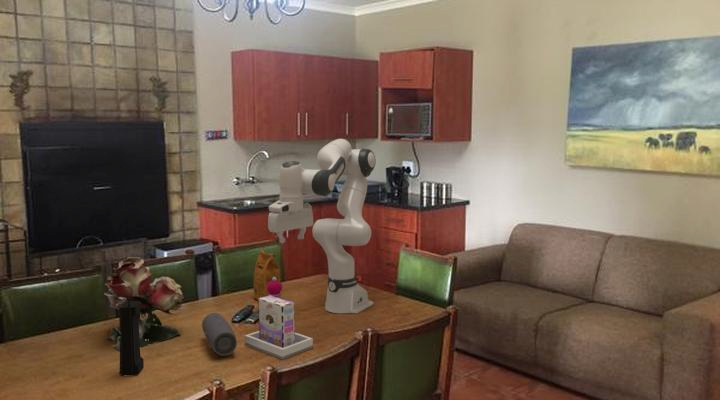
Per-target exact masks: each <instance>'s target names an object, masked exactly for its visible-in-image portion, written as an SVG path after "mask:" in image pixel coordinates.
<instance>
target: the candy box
mask: <svg viewBox="0 0 720 400" xmlns="http://www.w3.org/2000/svg"><path fill="white" fill-rule="evenodd" d="M257 302H258V328H259V329H258V331H259V339H260V340H263V341H266V342H268V343H271V344H274V345H276V346H279V347H282V348H284V347H287V346H289V345H292V344H295V333H296V332H295V330H296V329H295V302H293V301H288V300H286V299H282V298H281V297H280V298H277V297H274V296H271V295H270V296H266V297H262V298H258V300H257Z"/></svg>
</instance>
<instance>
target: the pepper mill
mask: <svg viewBox="0 0 720 400" xmlns="http://www.w3.org/2000/svg"><path fill="white" fill-rule="evenodd" d="M276 280H277V278H276V277H273V278H272V281H271V282H269V283H268V285H267V291H268V292H269V293H268V295H269V296H270V295H271V296H274V297H277V298H280V299H281V297H282V293H281V292H282V290H283V283H281V281H280V282H279V281H276Z"/></svg>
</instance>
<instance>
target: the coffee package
mask: <svg viewBox="0 0 720 400" xmlns="http://www.w3.org/2000/svg"><path fill="white" fill-rule="evenodd" d="M258 254H259V255H258V257H257V260H256V263H255V266H254V273H253V274H254V275H253V299H254V300H257V301H258V298H262V297H266V296H269V295H268V293H269V292H268V291H267V285H268V283H269V282H271V281H272V278H273V277H276V278H277V280H276V281H279V282H280V283H281V275H280V274H281V268H280V267H279V265H278V263H277V262H276V260H275V258H276V254H273V253H265V251H264V250H263V249H261V250H260V251H259V253H258Z"/></svg>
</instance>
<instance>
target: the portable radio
mask: <svg viewBox="0 0 720 400" xmlns="http://www.w3.org/2000/svg"><path fill="white" fill-rule="evenodd" d="M129 300H130V299H128V301H126V302H125V303H124V304H123V305H122V306H121V307H120V308H119V309H118V321H119V328H120V332H121V343H120V351H119V375H120V376H121V377H124V375H133V376H138V374H139V373H141V372H142V371H141V370H143V369H144V367H145V366H144V358H143V357H142V356H141V348H140V338H139V316H138V312H139V311H140V310H141V302H140V301H129ZM139 375H140V374H139Z"/></svg>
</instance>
